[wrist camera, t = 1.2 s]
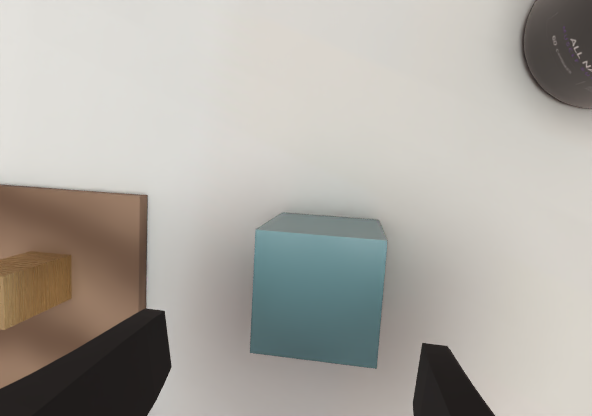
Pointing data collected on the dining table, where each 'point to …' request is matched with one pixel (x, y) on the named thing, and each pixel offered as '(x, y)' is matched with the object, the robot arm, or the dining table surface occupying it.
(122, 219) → the base board
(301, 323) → the teal foam cube
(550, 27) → the supplement bottle
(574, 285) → the dining table surface
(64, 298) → the tan wooden block
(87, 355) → the robot arm
